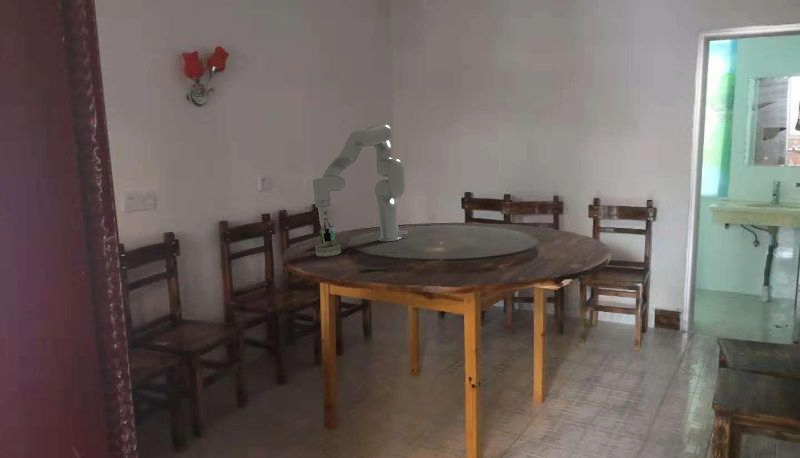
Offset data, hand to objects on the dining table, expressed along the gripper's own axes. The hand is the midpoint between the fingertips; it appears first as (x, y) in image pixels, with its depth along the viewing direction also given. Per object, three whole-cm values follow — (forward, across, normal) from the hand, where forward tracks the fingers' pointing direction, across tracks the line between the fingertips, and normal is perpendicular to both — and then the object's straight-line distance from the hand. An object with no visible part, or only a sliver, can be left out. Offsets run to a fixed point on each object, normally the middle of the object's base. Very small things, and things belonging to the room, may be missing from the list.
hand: (327, 240), depth 307 cm
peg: (+5, 0, 0) cm, 5 cm away
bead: (+7, 0, 0) cm, 7 cm away
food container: (+7, +20, -4) cm, 22 cm away
